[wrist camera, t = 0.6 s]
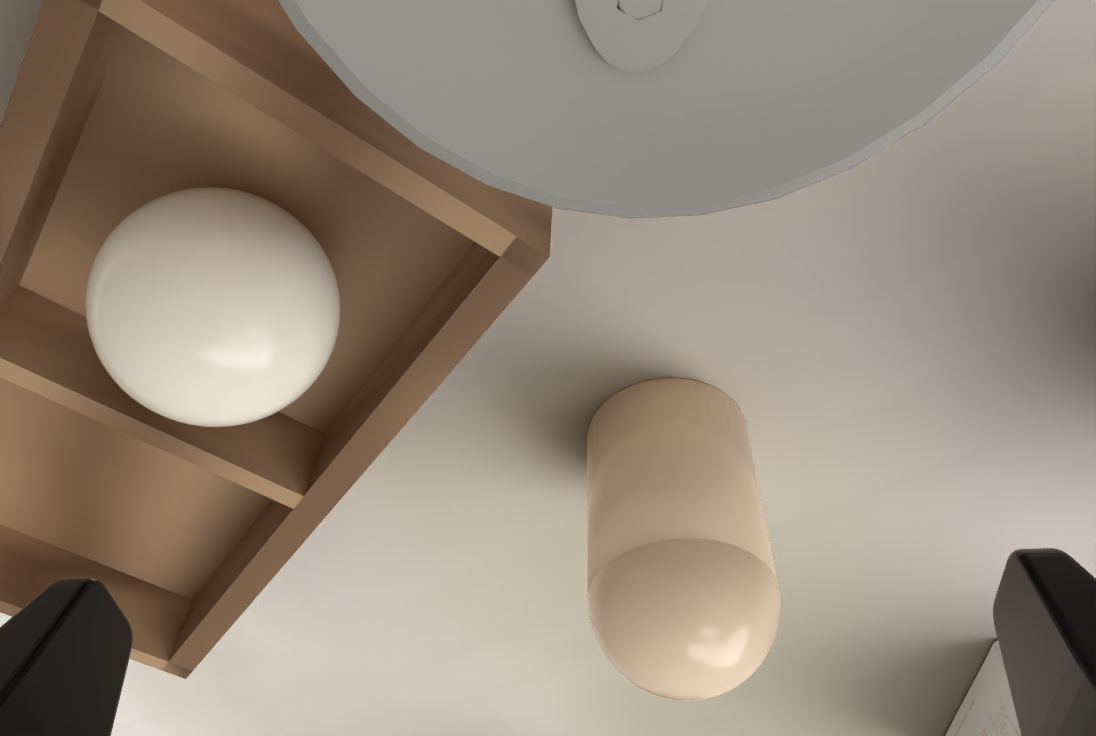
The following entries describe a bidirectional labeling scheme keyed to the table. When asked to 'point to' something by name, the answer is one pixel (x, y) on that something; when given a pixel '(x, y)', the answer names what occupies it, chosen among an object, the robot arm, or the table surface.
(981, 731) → the small box
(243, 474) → the crate
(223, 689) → the table surface
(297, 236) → the ball
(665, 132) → the canned food
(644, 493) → the cylinder
